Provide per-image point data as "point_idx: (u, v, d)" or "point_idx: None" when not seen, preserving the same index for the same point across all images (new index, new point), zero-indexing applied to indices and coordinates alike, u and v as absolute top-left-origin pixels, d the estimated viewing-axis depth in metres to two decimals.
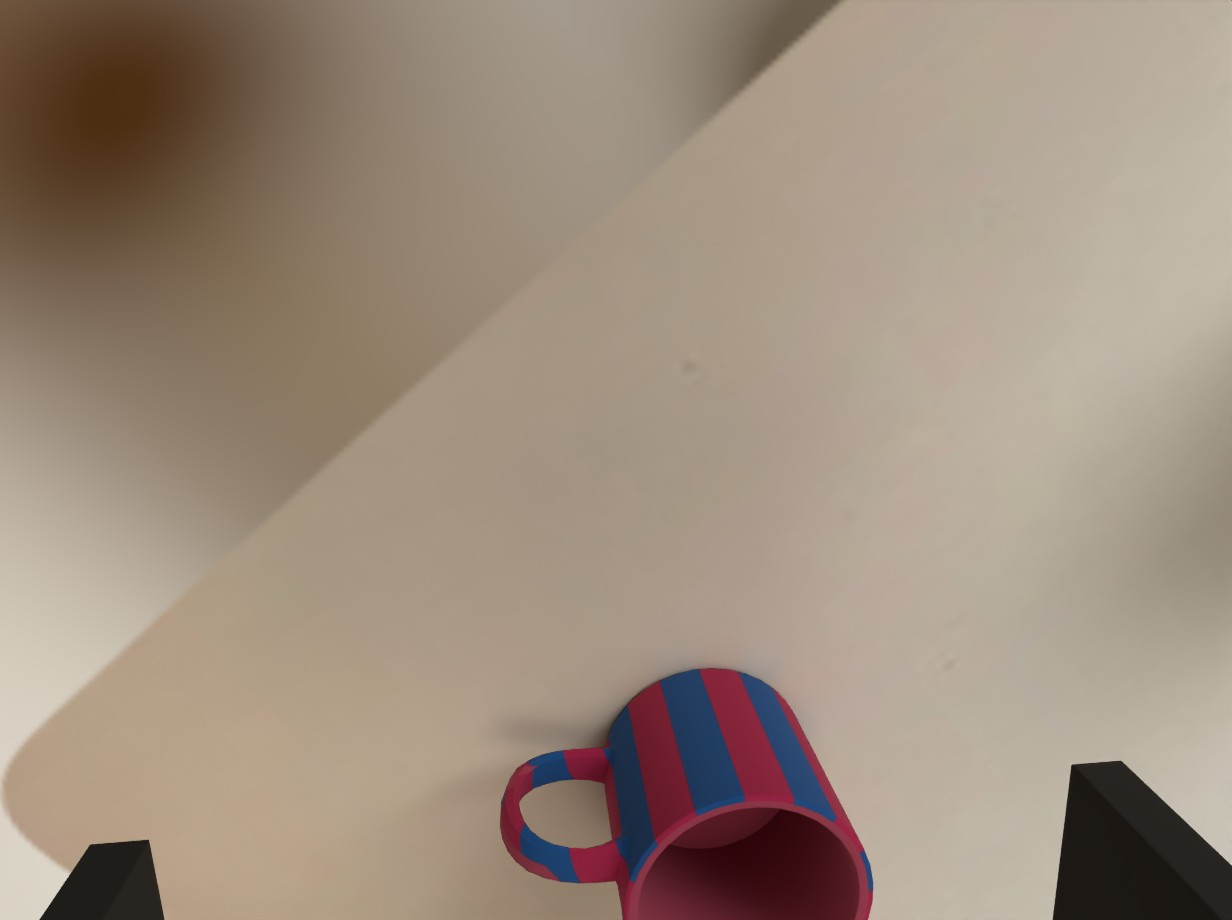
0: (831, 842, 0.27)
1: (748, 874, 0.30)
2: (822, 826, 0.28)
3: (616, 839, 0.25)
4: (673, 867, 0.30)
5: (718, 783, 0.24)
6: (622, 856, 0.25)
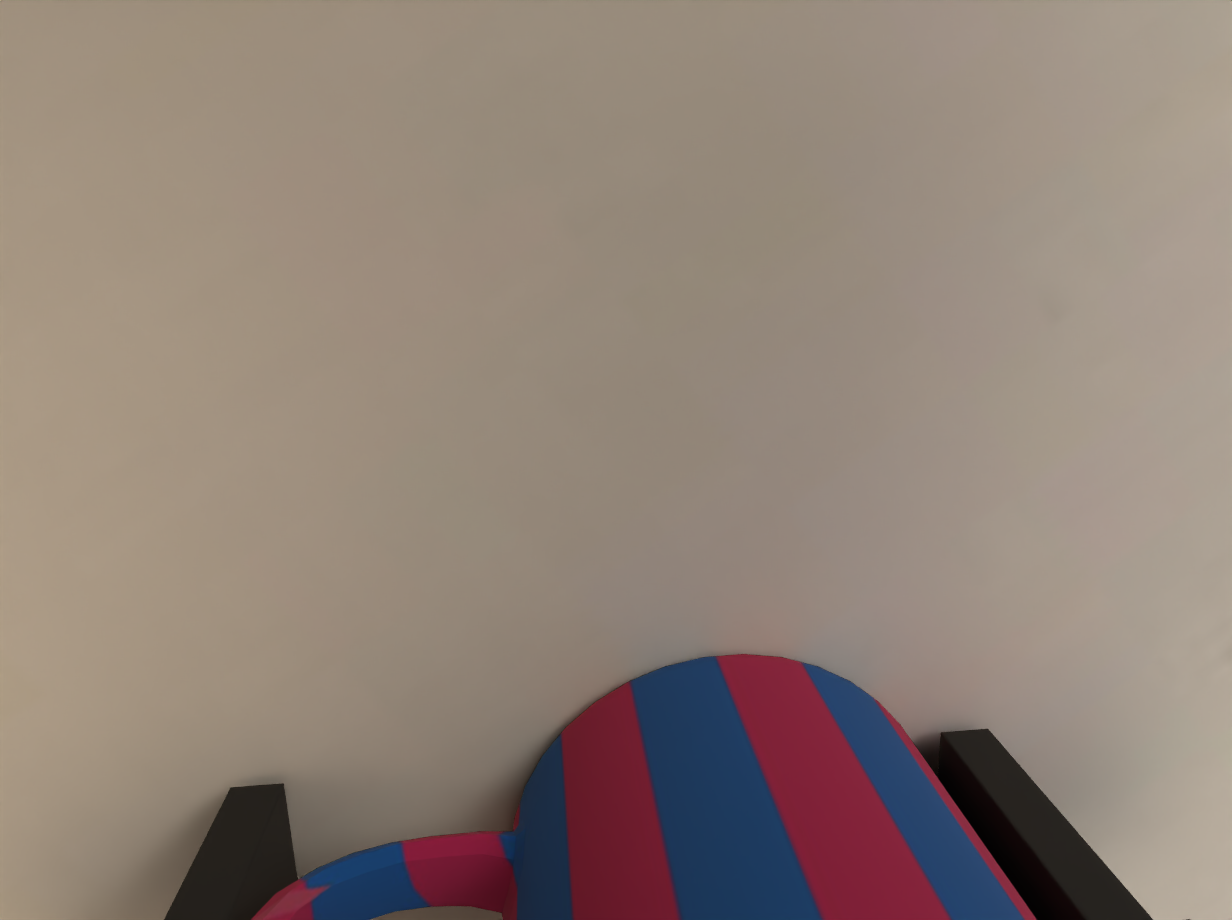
0: None
1: None
2: None
3: None
4: None
5: None
6: None
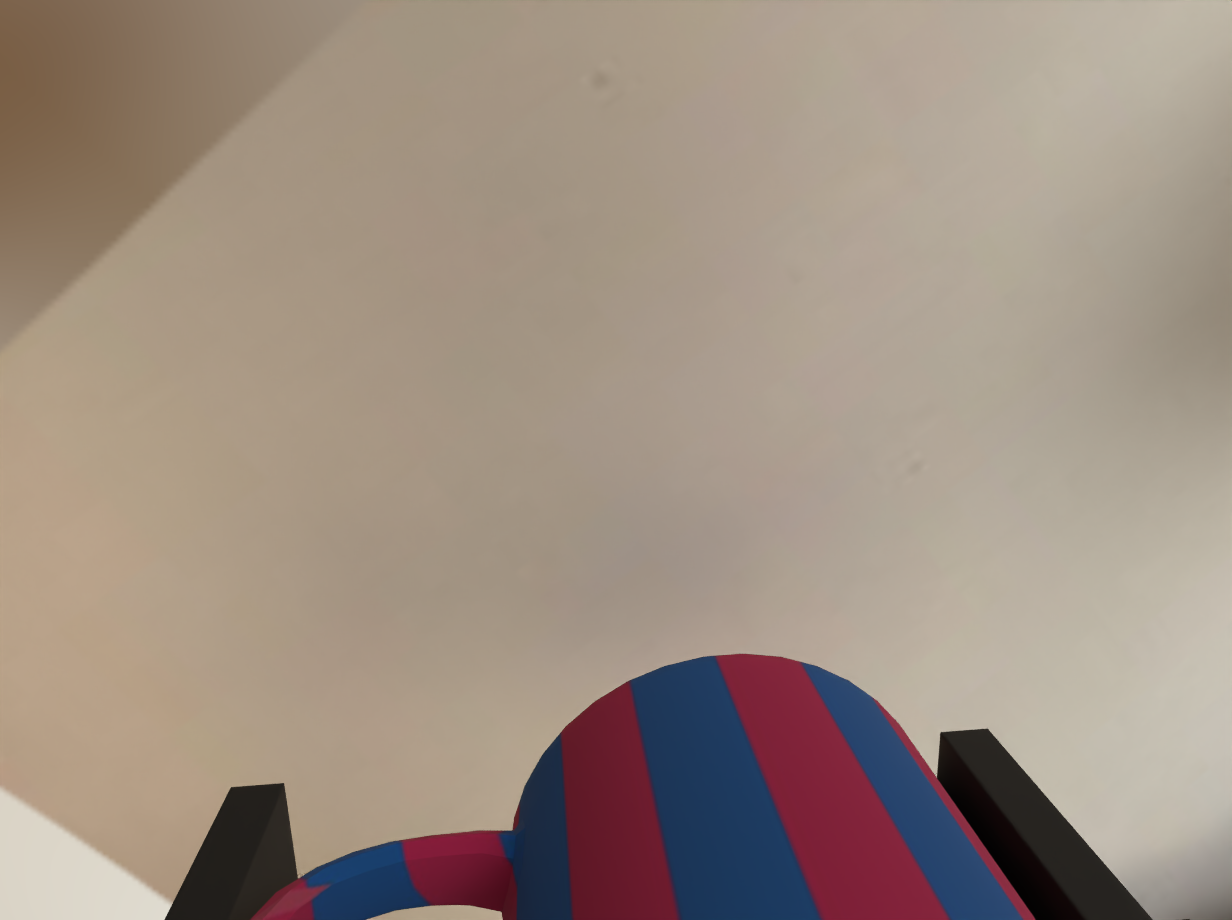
0: None
1: None
2: None
3: None
4: None
5: None
6: None
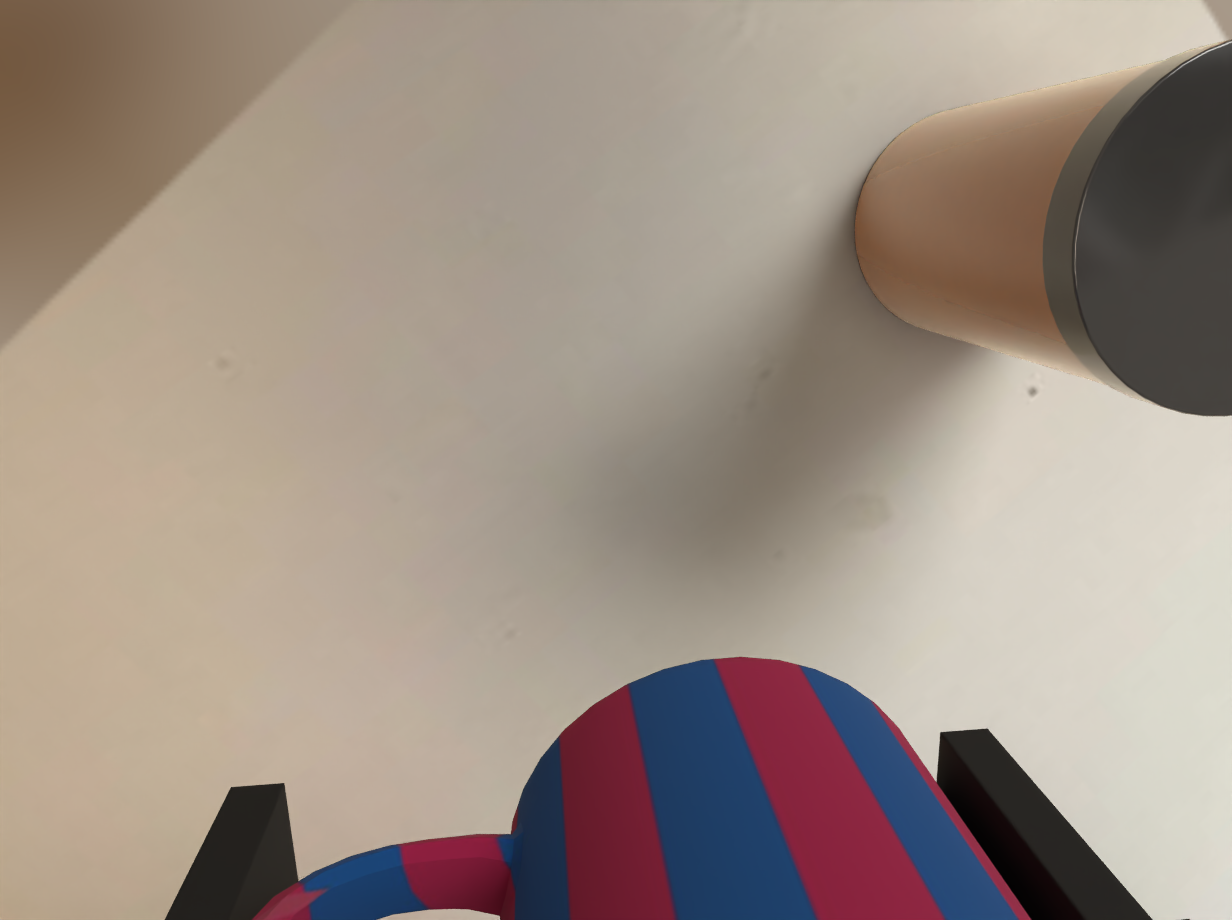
0: None
1: None
2: None
3: None
4: None
5: None
6: None
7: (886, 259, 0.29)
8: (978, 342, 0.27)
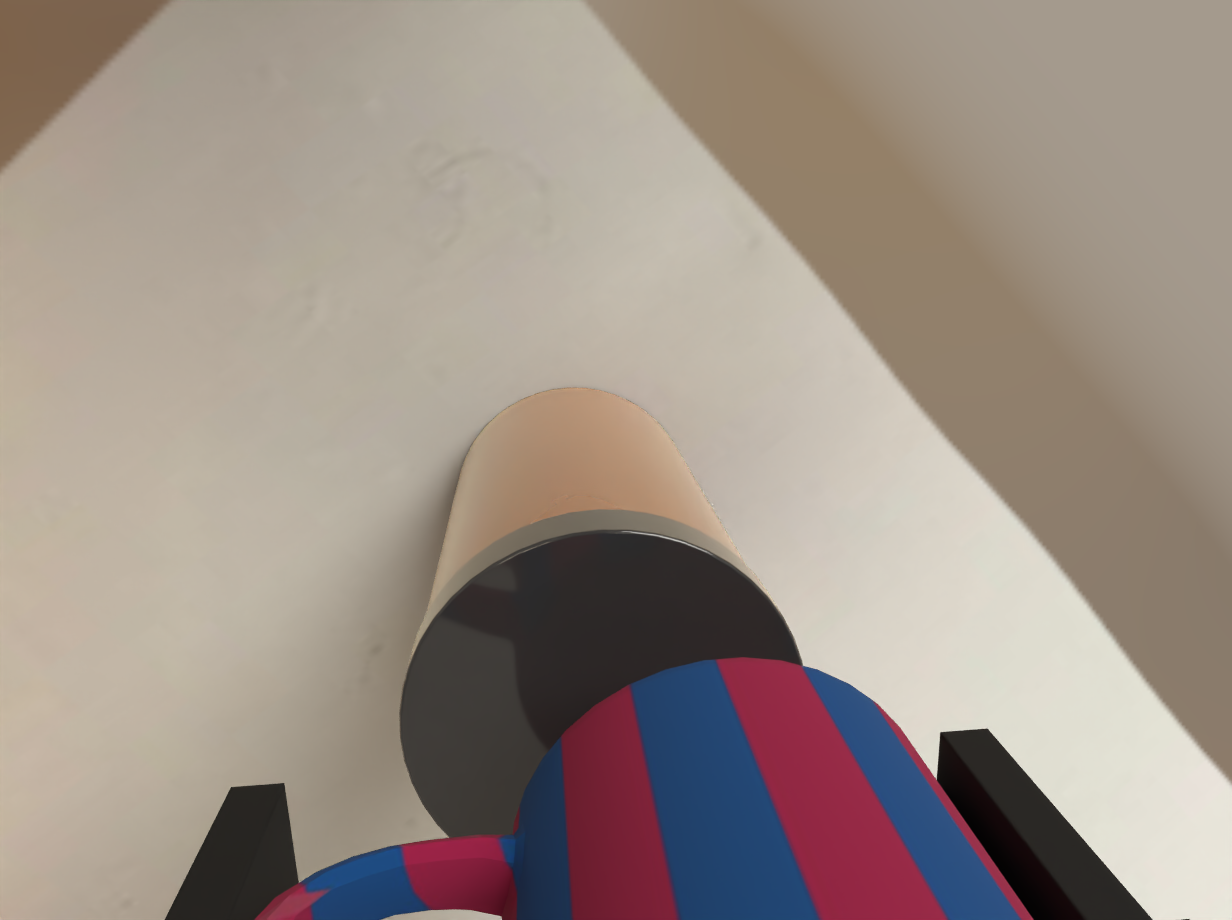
0: None
1: None
2: None
3: None
4: None
5: None
6: None
7: None
8: None
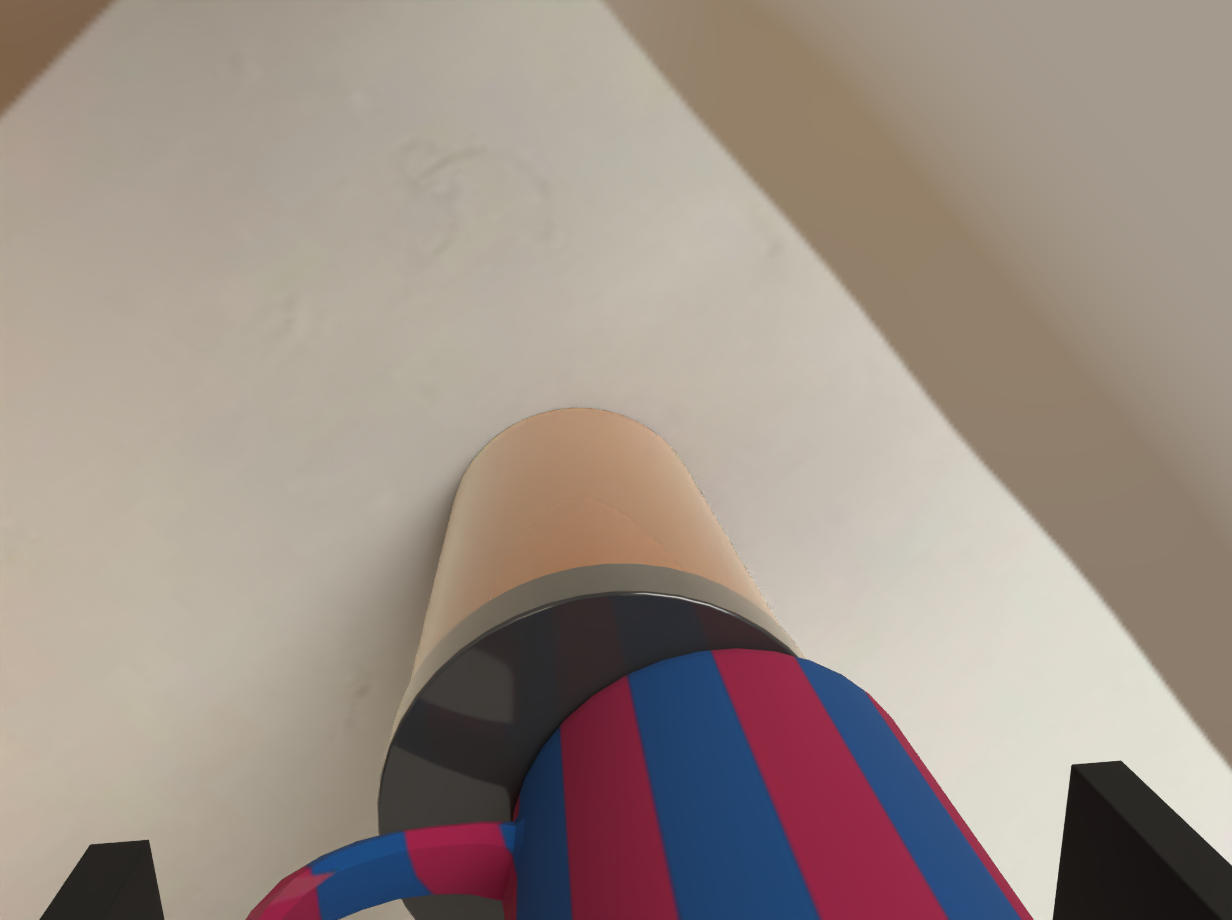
0: None
1: None
2: None
3: None
4: None
5: None
6: None
7: None
8: None
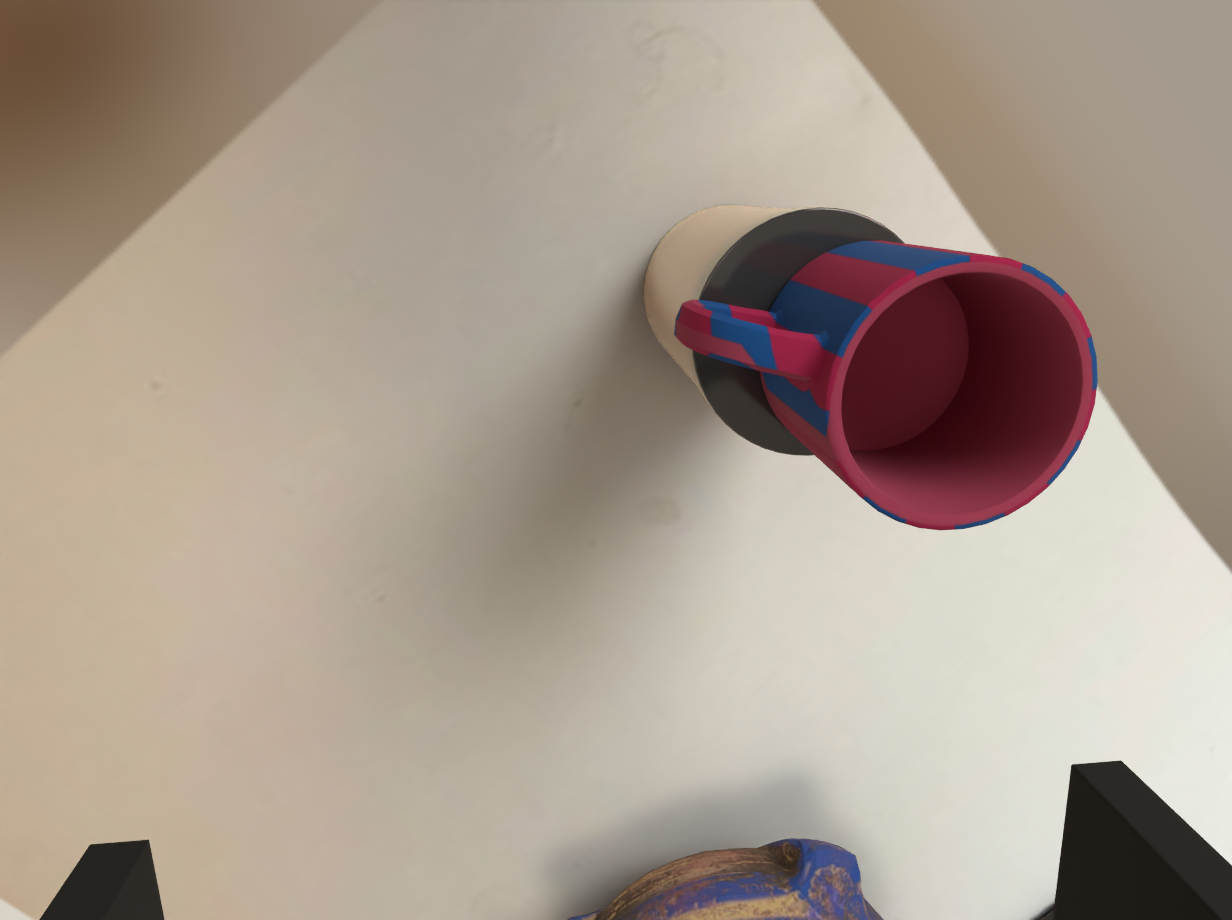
0: (1032, 379, 0.25)
1: (920, 457, 0.27)
2: (1015, 378, 0.26)
3: None
4: None
5: (933, 257, 0.22)
6: (821, 346, 0.22)
7: (654, 322, 0.38)
8: None
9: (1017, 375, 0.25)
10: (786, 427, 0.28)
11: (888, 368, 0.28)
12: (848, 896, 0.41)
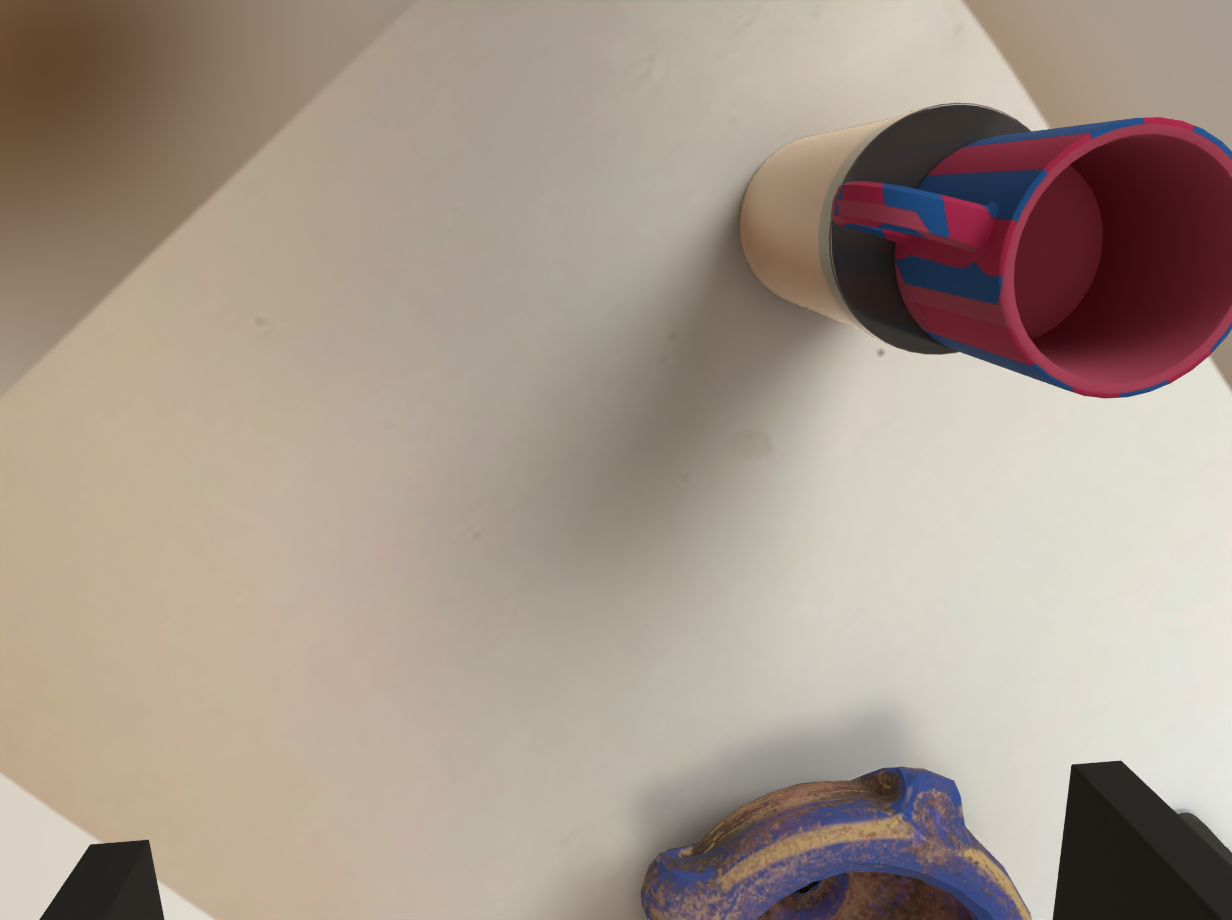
0: (1183, 256, 0.25)
1: (1061, 346, 0.28)
2: (1161, 259, 0.26)
3: None
4: None
5: (1102, 123, 0.22)
6: (991, 215, 0.23)
7: (755, 248, 0.39)
8: (814, 309, 0.37)
9: (1165, 256, 0.26)
10: (922, 323, 0.29)
11: (1023, 262, 0.29)
12: (950, 819, 0.41)
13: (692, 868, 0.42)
